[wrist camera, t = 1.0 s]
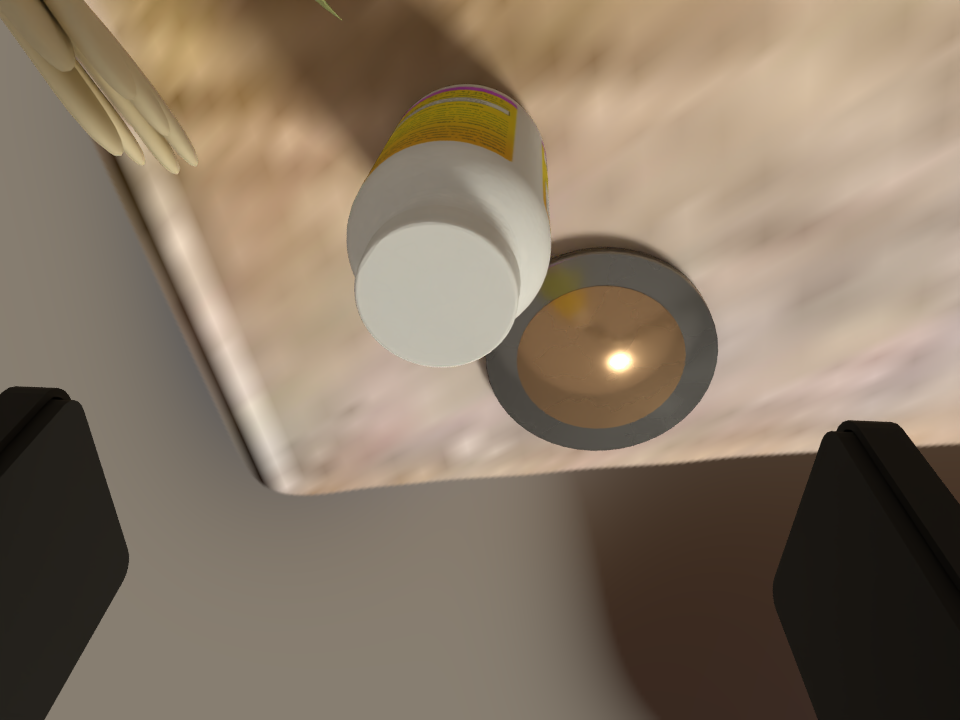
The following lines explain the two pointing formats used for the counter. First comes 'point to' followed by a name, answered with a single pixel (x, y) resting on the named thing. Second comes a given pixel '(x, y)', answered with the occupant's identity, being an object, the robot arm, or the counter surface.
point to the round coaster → (606, 351)
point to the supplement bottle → (452, 227)
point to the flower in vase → (98, 79)
